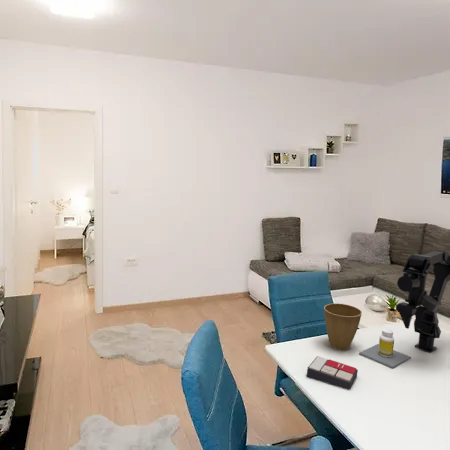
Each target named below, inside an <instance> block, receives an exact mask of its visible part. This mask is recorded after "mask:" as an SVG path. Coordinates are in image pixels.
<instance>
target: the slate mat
mask: <svg viewBox="0 0 450 450" xmlns="http://www.w3.org/2000/svg"><path fill="white" fill-rule="evenodd" d="M378 348H379V343H377V344H375V345H373V346H371V347H369V348H366V349H364V350H362V351H359V356H362V357H364V358H365V359H366V358H367V359H369V360H371V361H373V362H376V363H378V364H380V365H382V366H385V367H388V368H389V369H393V370H394V369H395V368H397V367H399V366H400V365H401V364H404V363H405V362H407V361H409V360H411V358H412V357H411V355H408V354H405V353H403V352H400V351H397V350H394V349H393V356H392V357H384V356H381V355H380V354H379V353H378Z"/></svg>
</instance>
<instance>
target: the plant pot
mask: <svg viewBox="0 0 450 450" xmlns="http://www.w3.org/2000/svg"><path fill="white" fill-rule="evenodd" d="M323 312H324V320H325V327H326V334H327V337H328V341H329V344H330V346H331V348H334V349H335V348H336V350H339V349H340V350H341V351H345V350H348V349H349V348H350V346H351V345H352V343H353V340H354V339H355V335H356V333H357V331H358V328H359V325H360V321H361V318H362V310H361V309H359V308H358V307H356V306H353V305H350V304H345V303H340V302H339V303H337V302H336V303H335V302H334V303H329V304H326V305H324V307H323ZM340 350H339V351H340Z"/></svg>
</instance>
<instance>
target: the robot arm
mask: <svg viewBox="0 0 450 450" xmlns="http://www.w3.org/2000/svg"><path fill="white" fill-rule="evenodd" d="M432 267H433V271H432V272H433V275H434V279H433V282H432V286H431V288H430V291H429V295H428V291H427V289H426V283H427V276H429V272H430V270H431V269H432ZM402 272H403V275H402V276H400V277H399V278H398V279H397V282H396V284H397V287H398V289H399V290H401V291H402V292H404V293H405V292H407V298H405V300H404V301H402V302H399V303H397V304H396V305H395V311H396V312H397V313H398V314H399V316H400V317H401V320H402V323H403V325H404V327H405V329H408V330H409V328H410V325H411V321H412V319H413V317H415V319H414V321H413V328H414V330H413V331H414V333H418V334H419V335H418V343H417V344H415V345H414V348H417V349H420V350H422V351H425V352H427V353H432V352H434V351H435V350H437V346H434V345H435V339H440V336H441V333H442V330H441V328H440V325H439V317H438V312H439V308H440V306H442V302H441V301H442V300H443V295H444V293H445V290H446V287H447V283H448V282H449V281H450V254H449V252H448V251H446V250H440V249H436V250H435V249H434V250H433V251H431V252H427V253H425V254H417V253H415V254H414V253H412V254H411V255H409V257H408V259H407V261H406V263H405V265H404V267H403V270H402Z"/></svg>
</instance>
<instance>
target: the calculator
mask: <svg viewBox="0 0 450 450" xmlns="http://www.w3.org/2000/svg"><path fill="white" fill-rule="evenodd" d="M313 359H314V360H313V361H312V362H311V363H310V364H309V365H308V367H307V370H306V378H309V379H312V380H315V381H320V382H323V383H327V384H328V385H332V386H334V387H338V388H341V389H344V390H348V391H350V390H351V389H352V387H353V385H354V382H355V381H356V379H357V377H358V371H359V370H358V368H357V367H354V366H350V365H349V364H345V363H342V362H339V361H337V360H332V359H328V358H325V357H321V356H316V357H315V358H313Z"/></svg>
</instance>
